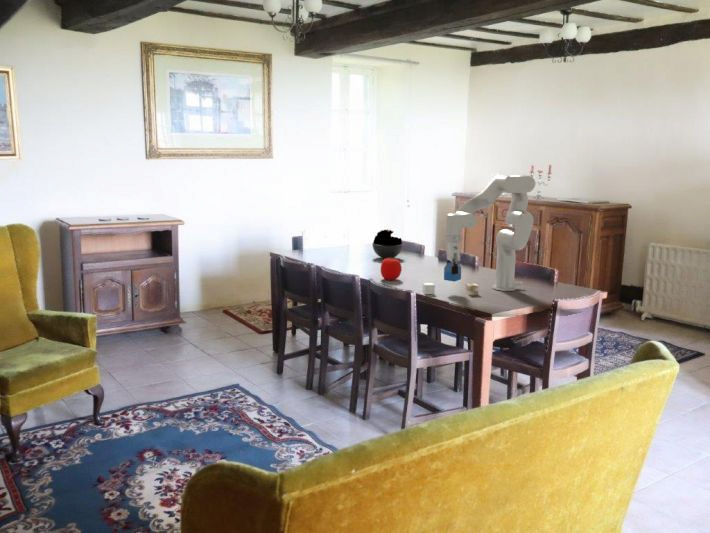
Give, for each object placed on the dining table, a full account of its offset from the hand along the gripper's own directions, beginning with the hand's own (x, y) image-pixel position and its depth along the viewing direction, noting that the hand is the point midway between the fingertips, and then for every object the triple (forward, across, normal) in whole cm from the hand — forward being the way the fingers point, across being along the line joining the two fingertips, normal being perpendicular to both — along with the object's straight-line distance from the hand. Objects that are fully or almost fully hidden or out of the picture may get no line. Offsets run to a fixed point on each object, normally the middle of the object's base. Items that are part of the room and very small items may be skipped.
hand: (452, 271), depth 322 cm
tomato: (+11, +34, +26) cm, 44 cm away
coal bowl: (+12, +99, +17) cm, 101 cm away
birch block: (+12, -1, -10) cm, 15 cm away
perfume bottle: (+4, 0, 0) cm, 4 cm away
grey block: (+11, +1, +12) cm, 16 cm away
